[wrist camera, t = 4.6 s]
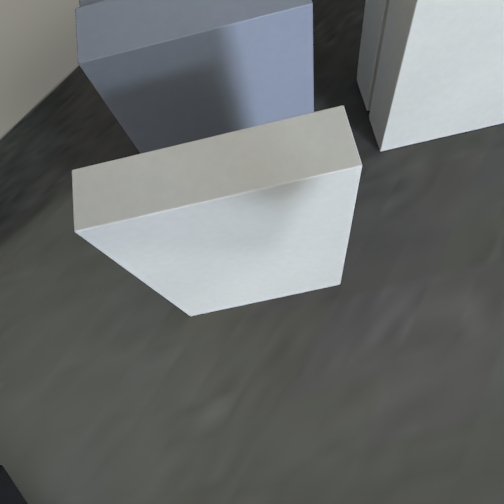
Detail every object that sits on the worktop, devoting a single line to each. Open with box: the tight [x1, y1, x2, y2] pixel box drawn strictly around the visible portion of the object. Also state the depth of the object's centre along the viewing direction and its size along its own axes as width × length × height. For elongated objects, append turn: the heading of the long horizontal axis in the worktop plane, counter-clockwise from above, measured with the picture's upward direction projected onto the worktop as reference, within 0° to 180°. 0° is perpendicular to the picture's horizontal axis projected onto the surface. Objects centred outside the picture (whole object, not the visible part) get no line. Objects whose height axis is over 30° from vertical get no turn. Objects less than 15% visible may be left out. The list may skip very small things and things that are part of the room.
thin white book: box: [72, 105, 362, 316], centre depth 22 cm, size 2×10×15 cm, turn 101°
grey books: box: [75, 0, 314, 154], centre depth 28 cm, size 12×11×14 cm
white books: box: [356, 0, 504, 151], centre depth 25 cm, size 6×10×15 cm, turn 101°
